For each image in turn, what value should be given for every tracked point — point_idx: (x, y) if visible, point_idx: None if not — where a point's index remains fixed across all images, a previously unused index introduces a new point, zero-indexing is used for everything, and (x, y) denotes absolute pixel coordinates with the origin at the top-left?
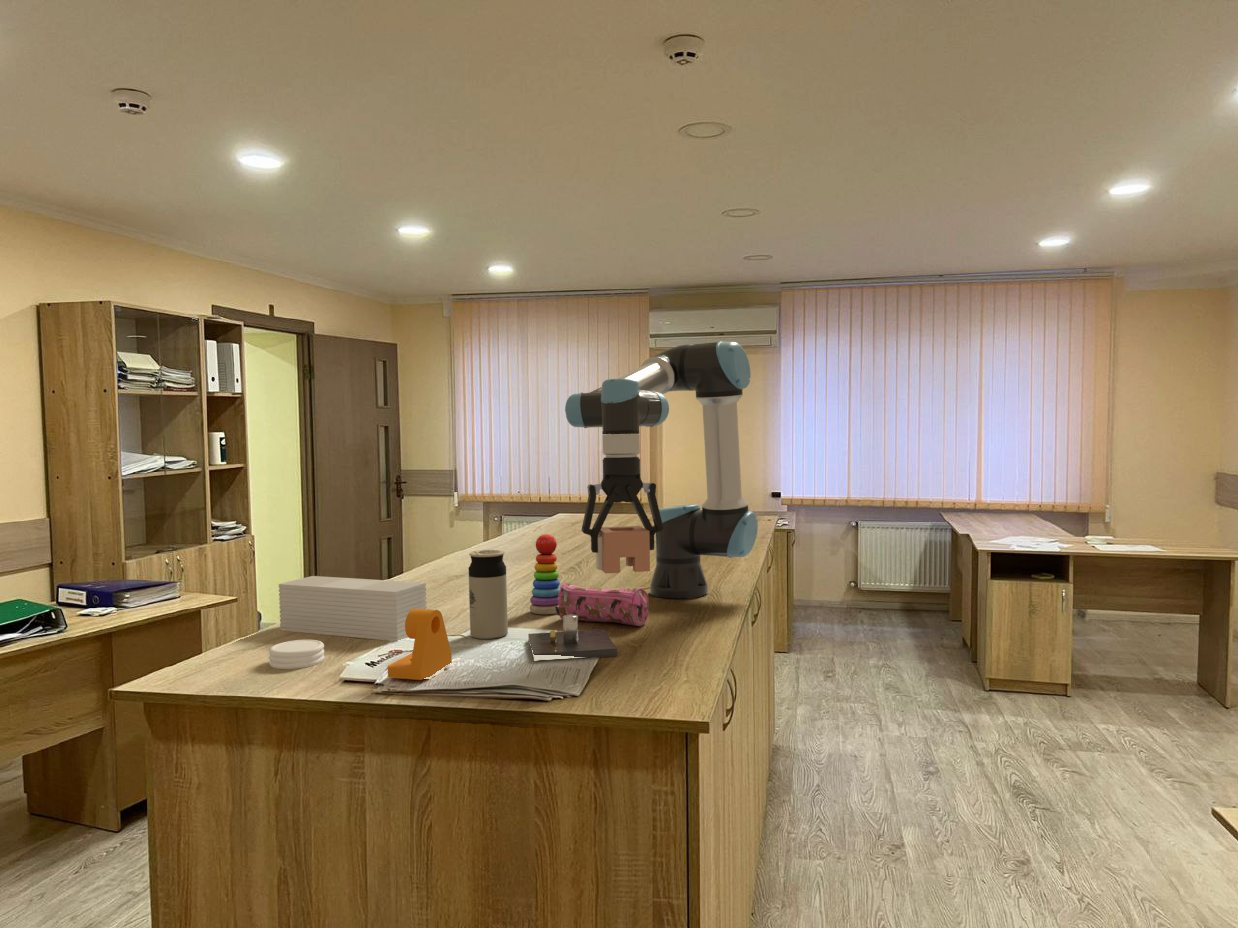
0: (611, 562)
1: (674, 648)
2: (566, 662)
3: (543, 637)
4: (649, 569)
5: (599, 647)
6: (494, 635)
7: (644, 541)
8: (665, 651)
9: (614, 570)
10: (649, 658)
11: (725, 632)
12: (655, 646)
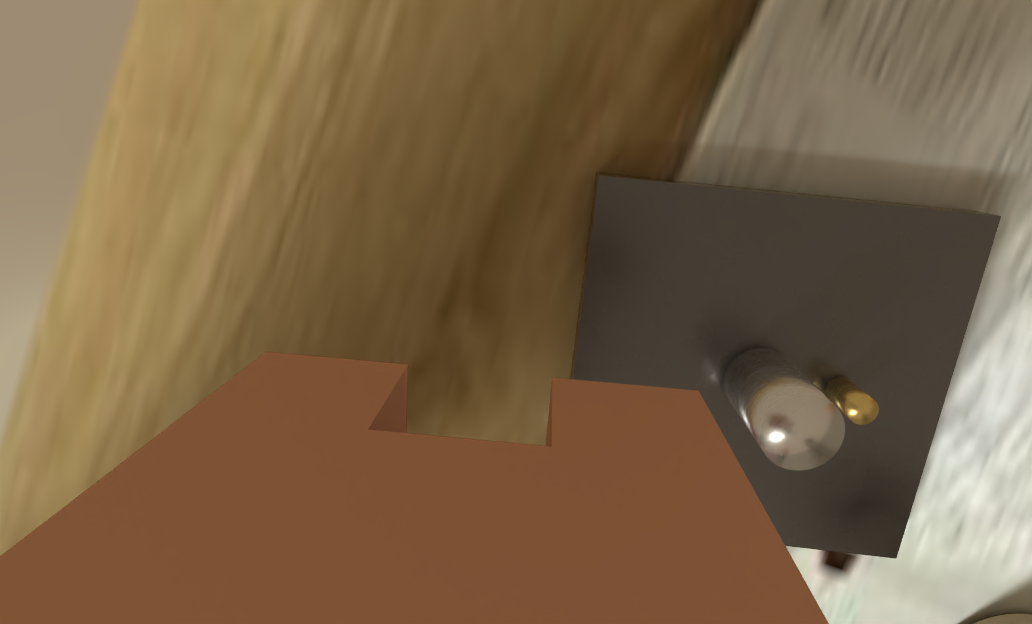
0: (651, 429)
1: (316, 210)
2: (843, 149)
3: (855, 476)
4: (264, 355)
5: (671, 220)
6: (1015, 620)
7: (134, 523)
8: (367, 175)
9: (610, 391)
10: (466, 84)
11: (42, 383)
12: (388, 271)
